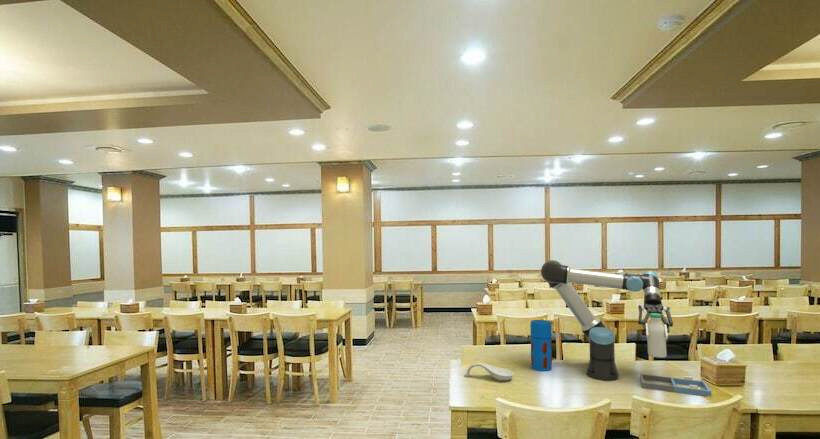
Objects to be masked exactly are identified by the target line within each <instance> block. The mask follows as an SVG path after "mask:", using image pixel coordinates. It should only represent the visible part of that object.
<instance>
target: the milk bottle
mask: <svg viewBox="0 0 820 439" xmlns="http://www.w3.org/2000/svg"><path fill="white" fill-rule="evenodd" d="M649 319H650V322H649V323H648V334H649V336H648V338H646V339H647V340H646V341H647V342H646V343H647V355H648V356H650V357H653V358H666V357H667V340H666V338H665V329H664V324H663V322H662V320H661V314H658V313H650V316H649Z"/></svg>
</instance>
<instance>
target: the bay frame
mask: <svg viewBox="0 0 820 439" xmlns="http://www.w3.org/2000/svg"><path fill="white" fill-rule="evenodd" d="M639 381H640V386H641V388H642V389H647V390H654V391H661V392H671V393H677V394H685V395H693V396H698V397H699V396H700V397H707V396H712V389H710V387H709V386H708V384H707V382H705V380H704V381H703V380H698V379H697V380H694V379H693V376H690V375H689V376H687V375H684V378H680V377H679V378H678V377H670V376H663V375H661V376H660V375H652V374H648V373H647V374H645V373H639ZM645 381H646V382H645ZM647 381H651V382H647ZM654 382H658V383H654ZM659 383H660V384H659ZM661 383H666V384H661ZM668 384H670V385H668ZM677 385H682V386H677ZM683 385H684V386H683ZM686 386H688V387H686ZM701 388H703V389H701Z"/></svg>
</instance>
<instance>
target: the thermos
mask: <svg viewBox="0 0 820 439" xmlns="http://www.w3.org/2000/svg"><path fill="white" fill-rule="evenodd" d="M529 327H530V363H531V364H530V365H531V369H532V370H533V371H538V372H550V371H552V370H553V367H552V366H553V355H552V353H553V349H552V348H553V347H552V342H553V341H552V336H553V335H552V321H550V320H546V319H545V320H544V319H532V320H530V326H529Z"/></svg>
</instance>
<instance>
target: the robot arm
mask: <svg viewBox="0 0 820 439" xmlns="http://www.w3.org/2000/svg"><path fill="white" fill-rule="evenodd" d="M540 274H541V277H542V279H543V280H544V281H545V282H547V283H548V285H549V286H550V288H551V289H553V290H556V292H557V293H558V295H559V296H560V297H561V299H562V301H563V302H564V303H565V304H566V306H567V308H569V311H570V312H571V313H572V314H573V316H574V317H575V318H576V320H577V321H578V323H579V324H580V326H581V328H580V329H581V330H580V331H581V332H582V333H583V335H584V337H585V338H586V339H587V341H588V343H589V361H588V364H587V367H586V371H585V372H586V373H585V374H586V375H587V376H588V377H589V378H592V379H595V380H600V381H611V382H612V381H616V380H619V379H620V374H619V373H620V372H619V369H618V368H617V364H616V361H615V360H616V359H615V358H616V356H615V354H616V353H615V340H616V338H615V333H614V331H613V330H612V329H609V328H607V327H606V326H605V324H604V323H603V322H602V320H601V319H600V318H596V317H595V315H594V314H593V313H592V311H591V310H590V308H589V307H588V306H587V304H586V303H585V301H584V300H583V298H582V297H581V296H580V294H579V293H578V292H577V290H576V289H575V287H574V286H573V285H572V284H578V285H579V284H580V285H587V286H594V287H595V286H596V287H601V288H611V289H616V290H617V289H619V290H625V291H630V292H635V293H637V292H640V291H641V290H643V297H644V298H643V299H644V301H643V302H644V305H640V304H639V305H638V306H637V307H638V308H637V309H638V322H637V324H638V325H642V330H643V332H645V335H646V339H647V338H648V336H649V334H648V326H649V323H647V322H648V320H649V319H650V313H658V314H661V323H662V324H663V327H664V329H665V338H666V341H667V340H668V338H669V334H668V333H670V332H671V331H670V327H671V328H672V327H673V326H674V322H673V321H674V320H673V318H672V315H671V312H670V308H671V307H670V306H667V307H666V306H664V305H663V302H662V296H661V290H660V289H661V288H660V279H659V275H658V274H657V273H656V272H655V271H652V270H647V271H644V272H643V273H642V274H636V273H626V272H619V273H612V272H605V271H597V270H589V269H588V270H587V269H578V268H572V267H570V266H568V265H563V264H561V263H560V262H559V261H558V260H553V259H552V260H548V261H545V263H543V264H542V267H541V268H540ZM644 310H645V311H646V313H645V316H644V318H643V319H642V317H643V311H644ZM662 311H664V313H665V314H666V317H665V315H664V314H663V312H662Z"/></svg>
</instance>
